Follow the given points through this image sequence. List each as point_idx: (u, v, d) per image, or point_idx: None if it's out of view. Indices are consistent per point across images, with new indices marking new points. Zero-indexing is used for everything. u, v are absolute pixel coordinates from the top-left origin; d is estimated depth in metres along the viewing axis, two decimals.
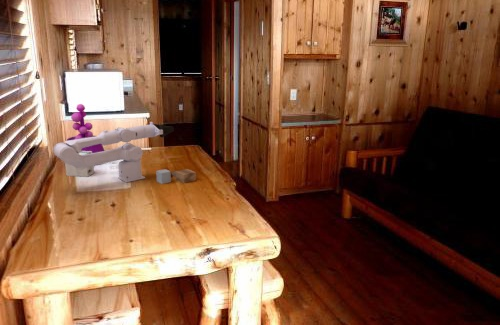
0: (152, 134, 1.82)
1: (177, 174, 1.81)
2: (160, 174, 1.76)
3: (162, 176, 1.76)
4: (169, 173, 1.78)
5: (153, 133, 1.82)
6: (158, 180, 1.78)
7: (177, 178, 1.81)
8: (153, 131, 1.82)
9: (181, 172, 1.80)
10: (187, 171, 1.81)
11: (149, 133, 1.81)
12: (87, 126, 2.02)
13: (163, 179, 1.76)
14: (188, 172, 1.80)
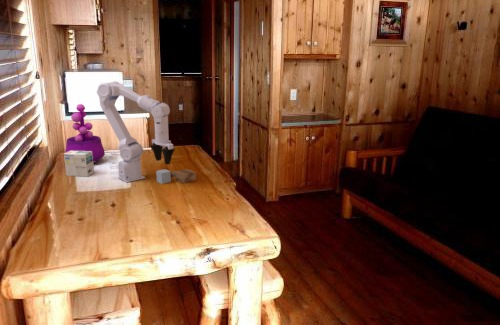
0: (162, 141, 1.72)
1: (177, 174, 1.81)
2: (160, 174, 1.76)
3: (162, 176, 1.76)
4: (169, 173, 1.78)
5: (163, 142, 1.72)
6: (158, 180, 1.78)
7: (177, 178, 1.81)
8: (165, 141, 1.72)
9: (181, 172, 1.80)
10: (187, 171, 1.81)
11: (163, 137, 1.71)
12: (87, 126, 2.02)
13: (163, 179, 1.76)
14: (188, 172, 1.80)
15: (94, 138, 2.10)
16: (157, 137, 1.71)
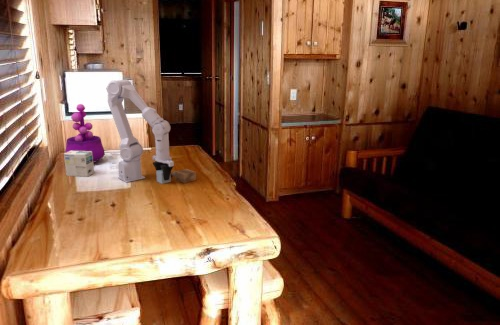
0: (163, 158, 1.74)
1: (177, 174, 1.81)
2: (160, 173, 1.76)
3: (162, 176, 1.76)
4: None
5: (164, 159, 1.74)
6: (158, 180, 1.78)
7: (177, 178, 1.81)
8: (166, 158, 1.74)
9: (181, 172, 1.80)
10: (187, 171, 1.81)
11: (164, 154, 1.74)
12: (87, 126, 2.02)
13: (163, 179, 1.76)
14: (188, 172, 1.80)
15: (94, 138, 2.10)
16: (158, 154, 1.73)
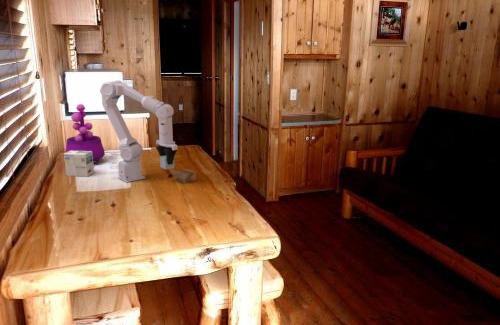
0: (166, 142, 1.72)
1: (177, 174, 1.80)
2: (163, 159, 1.75)
3: (165, 162, 1.74)
4: None
5: (167, 143, 1.72)
6: (162, 166, 1.77)
7: (177, 178, 1.81)
8: (169, 142, 1.73)
9: (181, 172, 1.80)
10: (187, 171, 1.81)
11: (168, 138, 1.72)
12: (87, 126, 2.02)
13: (166, 164, 1.75)
14: (188, 172, 1.80)
15: (94, 138, 2.10)
16: (161, 138, 1.72)
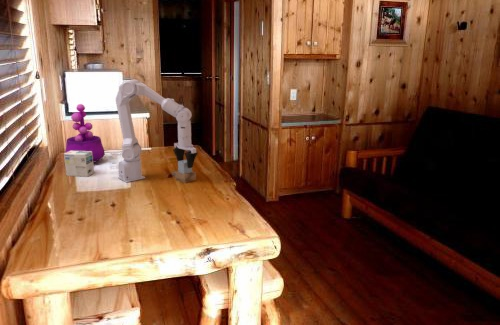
0: (185, 145, 1.75)
1: (177, 174, 1.80)
2: (181, 164, 1.78)
3: (184, 166, 1.77)
4: None
5: (186, 146, 1.76)
6: (180, 170, 1.80)
7: (177, 178, 1.81)
8: (188, 145, 1.76)
9: None
10: None
11: (187, 141, 1.75)
12: (87, 126, 2.02)
13: (185, 169, 1.78)
14: None
15: (94, 138, 2.10)
16: (180, 141, 1.75)
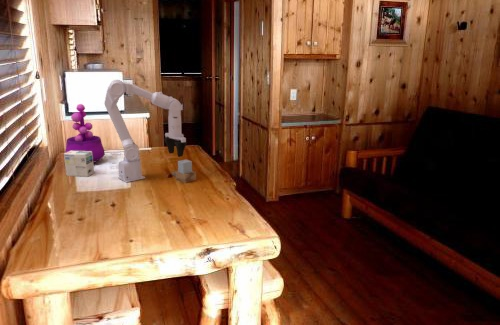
0: (175, 134, 1.81)
1: (177, 174, 1.80)
2: (181, 164, 1.78)
3: (183, 166, 1.78)
4: (190, 163, 1.80)
5: (176, 135, 1.81)
6: (179, 170, 1.80)
7: (177, 178, 1.81)
8: (178, 135, 1.82)
9: None
10: None
11: (177, 131, 1.81)
12: (87, 126, 2.02)
13: (184, 169, 1.78)
14: None
15: (94, 138, 2.10)
16: (171, 131, 1.81)
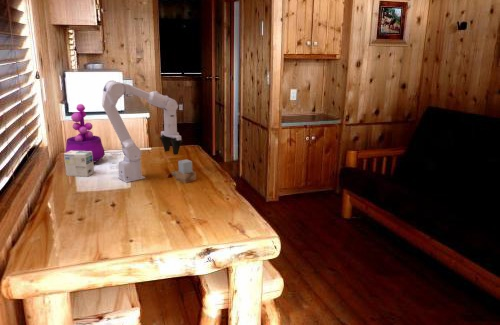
0: (171, 132, 1.84)
1: (177, 174, 1.80)
2: (181, 164, 1.78)
3: (183, 166, 1.78)
4: (190, 163, 1.80)
5: (172, 133, 1.84)
6: (180, 170, 1.80)
7: (177, 178, 1.81)
8: (174, 133, 1.85)
9: None
10: None
11: (172, 129, 1.84)
12: (87, 126, 2.02)
13: (184, 169, 1.78)
14: None
15: (94, 138, 2.10)
16: (166, 129, 1.84)
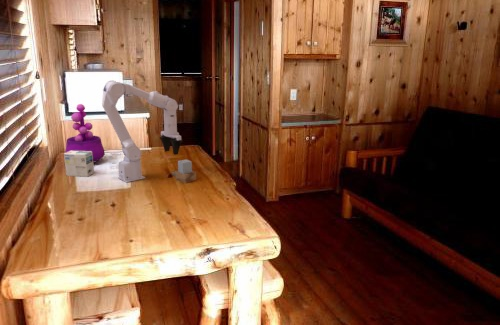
0: (171, 132, 1.84)
1: (177, 174, 1.80)
2: (181, 164, 1.78)
3: (183, 166, 1.78)
4: (190, 163, 1.80)
5: (172, 133, 1.84)
6: (179, 170, 1.80)
7: (177, 178, 1.81)
8: (174, 133, 1.85)
9: None
10: None
11: (172, 129, 1.84)
12: (87, 126, 2.02)
13: (184, 169, 1.78)
14: None
15: (94, 138, 2.10)
16: (166, 129, 1.84)
